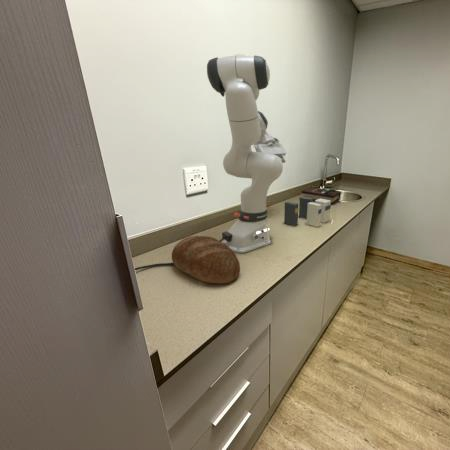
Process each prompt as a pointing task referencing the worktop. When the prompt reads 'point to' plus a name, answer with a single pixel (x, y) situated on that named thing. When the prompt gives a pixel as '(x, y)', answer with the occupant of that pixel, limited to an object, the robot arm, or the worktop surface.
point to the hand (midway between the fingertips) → (279, 162)
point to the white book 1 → (313, 214)
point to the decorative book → (322, 194)
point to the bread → (206, 259)
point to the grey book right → (304, 206)
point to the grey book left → (291, 213)
